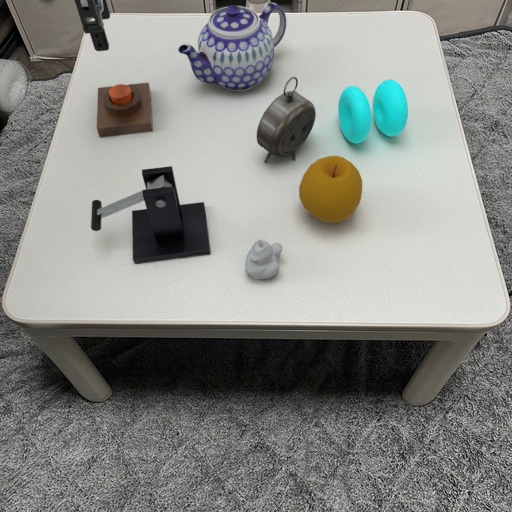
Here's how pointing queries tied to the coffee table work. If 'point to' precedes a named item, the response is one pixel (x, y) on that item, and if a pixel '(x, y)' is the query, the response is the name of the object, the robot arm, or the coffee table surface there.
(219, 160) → the coffee table surface
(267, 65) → the teapot
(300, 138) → the alarm clock
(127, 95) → the button
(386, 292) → the coffee table surface
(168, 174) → the lever base
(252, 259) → the grey swirled lump
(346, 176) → the apple
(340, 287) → the coffee table surface
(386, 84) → the donuts
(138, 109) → the switch
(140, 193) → the t-handle lever
